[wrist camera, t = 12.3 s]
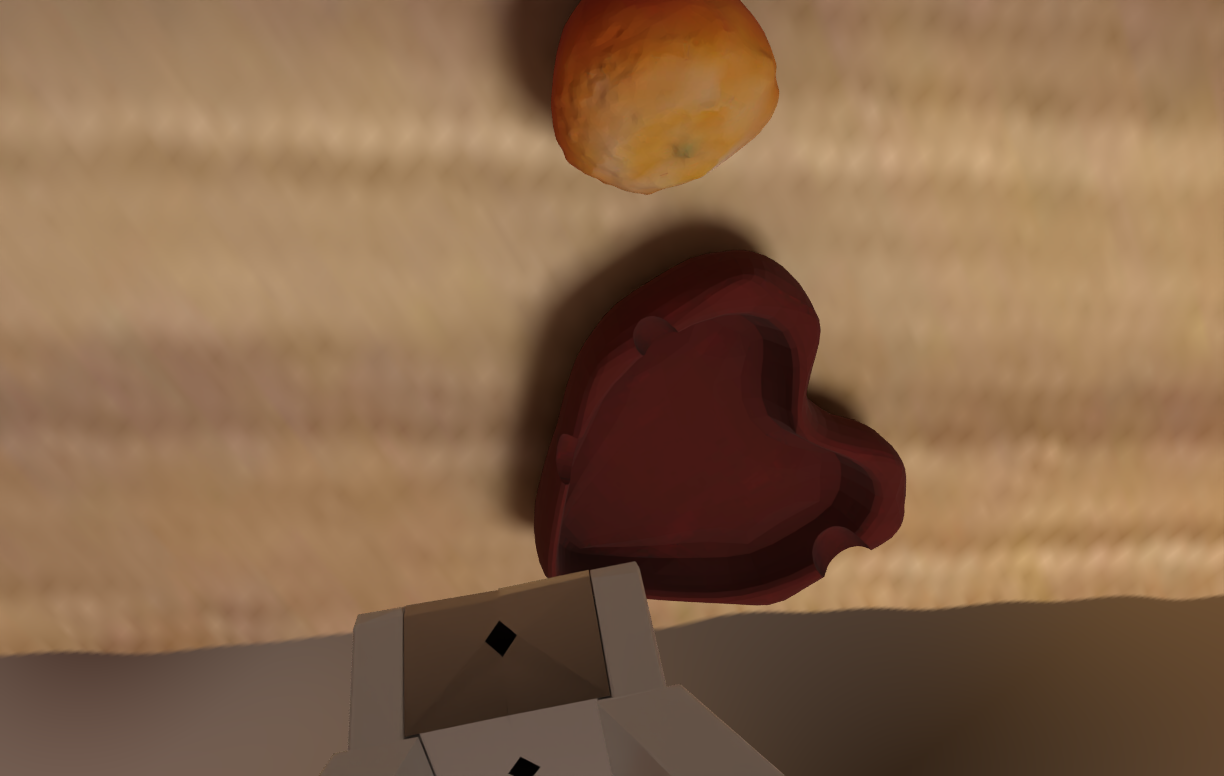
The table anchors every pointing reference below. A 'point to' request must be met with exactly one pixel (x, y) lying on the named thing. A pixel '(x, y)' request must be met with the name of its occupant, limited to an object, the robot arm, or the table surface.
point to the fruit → (660, 89)
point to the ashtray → (710, 444)
